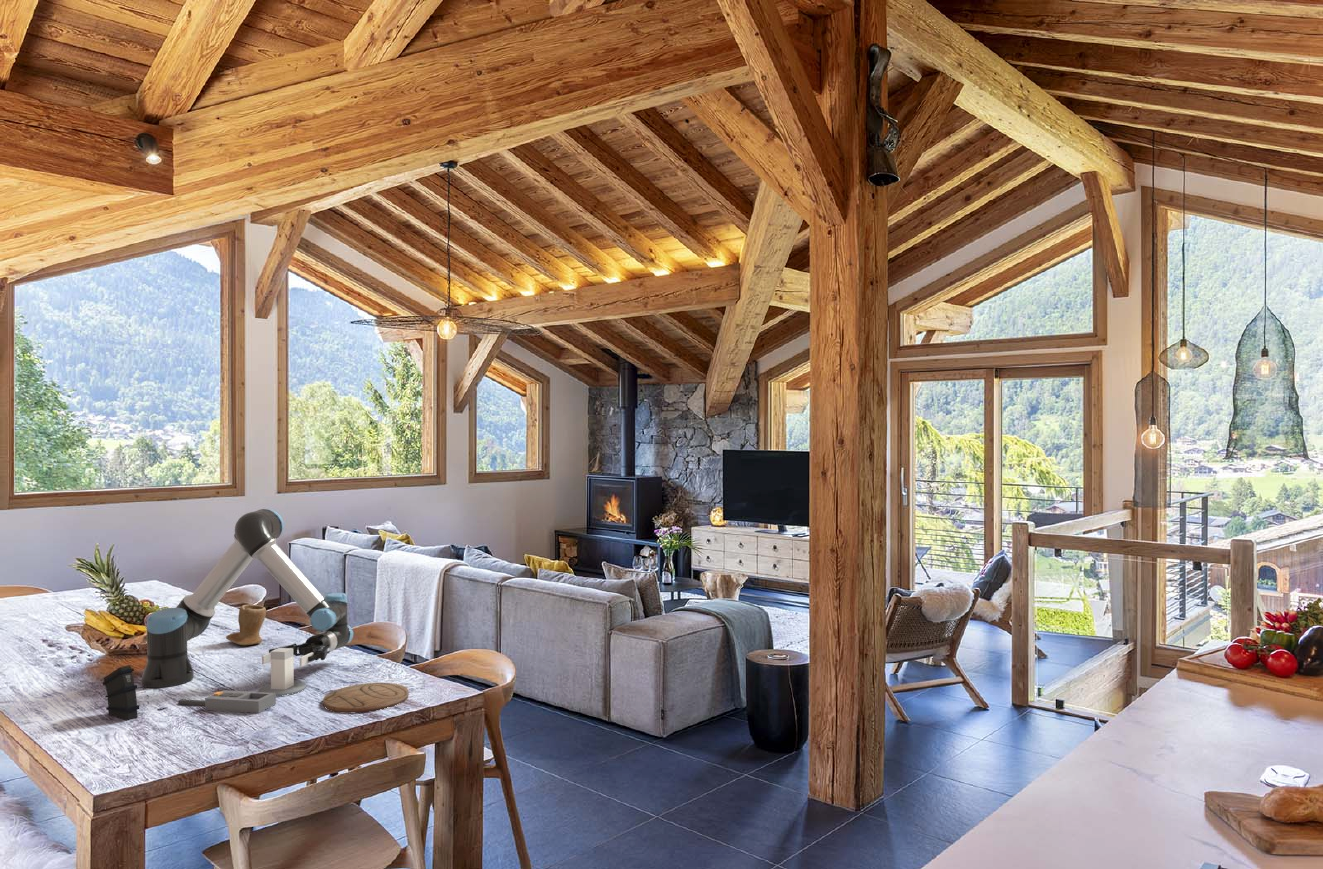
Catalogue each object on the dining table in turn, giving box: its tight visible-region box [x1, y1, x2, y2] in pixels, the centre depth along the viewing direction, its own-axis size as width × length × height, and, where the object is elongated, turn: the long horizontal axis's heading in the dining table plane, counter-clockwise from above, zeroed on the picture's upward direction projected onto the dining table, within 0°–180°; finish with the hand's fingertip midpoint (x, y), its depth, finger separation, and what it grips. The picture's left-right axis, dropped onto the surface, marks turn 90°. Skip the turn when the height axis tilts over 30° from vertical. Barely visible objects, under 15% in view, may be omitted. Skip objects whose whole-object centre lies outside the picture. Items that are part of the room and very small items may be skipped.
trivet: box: [322, 682, 409, 713], centre depth 264 cm, size 25×25×2 cm
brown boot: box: [225, 604, 267, 646], centre depth 337 cm, size 15×12×15 cm
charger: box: [270, 647, 295, 690], centre depth 274 cm, size 5×4×12 cm
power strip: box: [178, 689, 277, 714], centre depth 259 cm, size 30×8×4 cm, turn 79°
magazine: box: [102, 664, 140, 721], centre depth 251 cm, size 4×13×15 cm, turn 58°
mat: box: [257, 680, 307, 697], centre depth 274 cm, size 14×14×1 cm
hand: (281, 661), depth 274 cm, fingers open, 13 cm apart
